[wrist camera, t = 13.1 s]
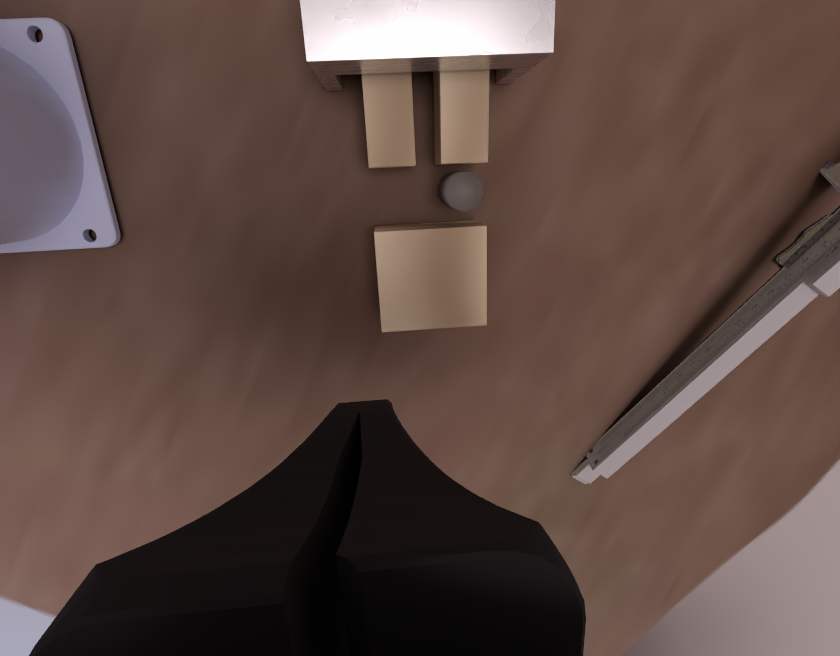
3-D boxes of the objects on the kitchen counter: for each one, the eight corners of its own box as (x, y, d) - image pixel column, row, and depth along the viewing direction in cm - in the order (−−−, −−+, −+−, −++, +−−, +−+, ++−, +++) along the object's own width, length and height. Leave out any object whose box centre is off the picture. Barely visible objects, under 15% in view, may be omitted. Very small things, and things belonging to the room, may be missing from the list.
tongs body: (382, 315, 21) (381, 332, 19) (341, -218, 15) (333, -288, 13) (475, 309, 21) (486, 325, 19) (470, -219, 15) (485, -287, 13)
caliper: (851, 123, 20) (1048, 100, 14) (866, 137, 20) (1066, 121, 14) (567, 471, 25) (625, 565, 19) (583, 480, 25) (644, 575, 19)
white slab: (326, 90, 18) (306, 61, 13) (318, 5, 17) (293, -58, 12) (511, 83, 18) (553, 52, 14) (512, -1, 17) (557, -64, 13)
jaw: (435, 207, 19) (442, 212, 17) (427, -222, 15) (435, -296, 13) (475, 206, 20) (487, 210, 17) (479, -221, 15) (496, -294, 13)
